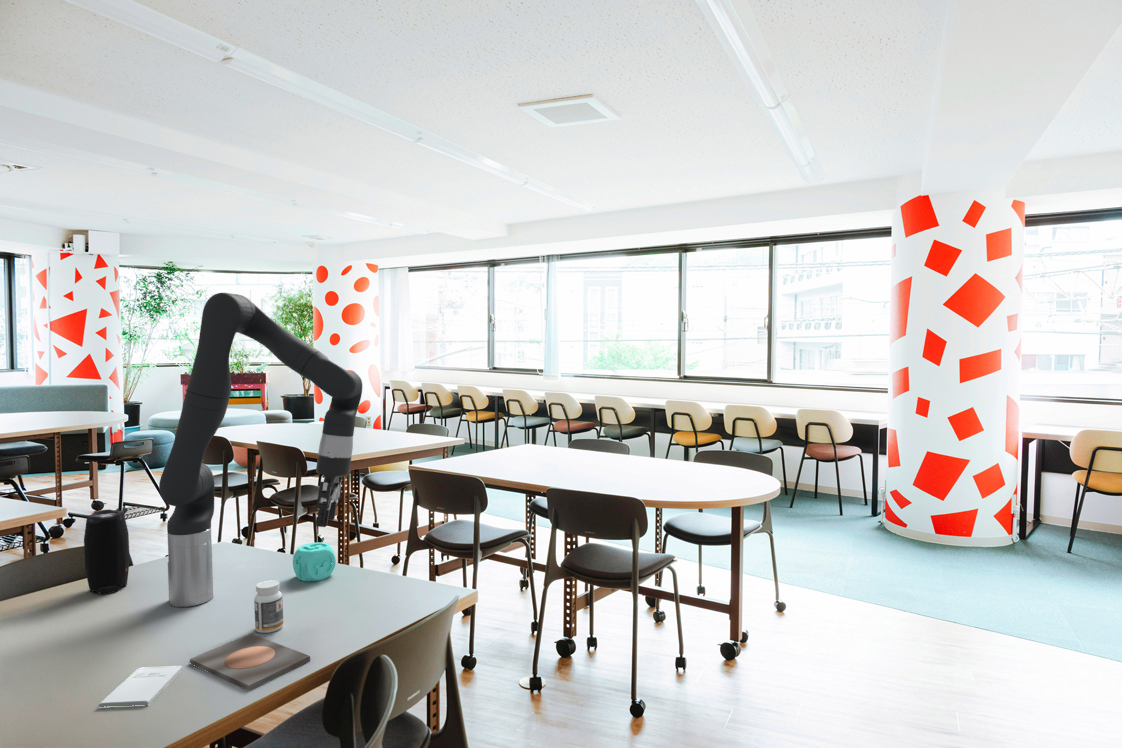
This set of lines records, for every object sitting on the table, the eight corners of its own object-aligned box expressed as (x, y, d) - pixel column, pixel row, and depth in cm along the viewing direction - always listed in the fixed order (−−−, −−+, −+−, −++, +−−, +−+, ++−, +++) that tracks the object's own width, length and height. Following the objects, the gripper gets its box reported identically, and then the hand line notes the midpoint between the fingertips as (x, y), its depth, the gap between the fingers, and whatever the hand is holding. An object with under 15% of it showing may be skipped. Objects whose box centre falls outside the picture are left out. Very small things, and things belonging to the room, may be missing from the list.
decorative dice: (292, 577, 177) (291, 547, 177) (320, 569, 183) (319, 540, 183) (308, 584, 172) (307, 553, 172) (336, 575, 178) (335, 546, 178)
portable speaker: (138, 584, 172) (135, 509, 171) (104, 598, 163) (100, 519, 162) (112, 580, 175) (109, 506, 173) (77, 594, 166) (74, 516, 164)
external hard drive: (98, 712, 115) (137, 675, 127) (148, 709, 116) (182, 672, 128) (98, 703, 115) (137, 666, 127) (148, 700, 115) (182, 664, 128)
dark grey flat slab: (189, 663, 130) (189, 658, 130) (251, 638, 141) (251, 633, 141) (249, 690, 120) (249, 684, 120) (310, 660, 131) (310, 655, 131)
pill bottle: (288, 623, 149) (287, 579, 148) (274, 634, 143) (273, 589, 142) (264, 622, 149) (262, 578, 149) (249, 633, 143) (248, 588, 143)
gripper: (325, 450, 164) (315, 516, 164) (311, 455, 150) (301, 527, 149) (356, 453, 165) (347, 519, 165) (346, 458, 151) (336, 530, 150)
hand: (325, 523), depth 157 cm, fingers open, 8 cm apart
